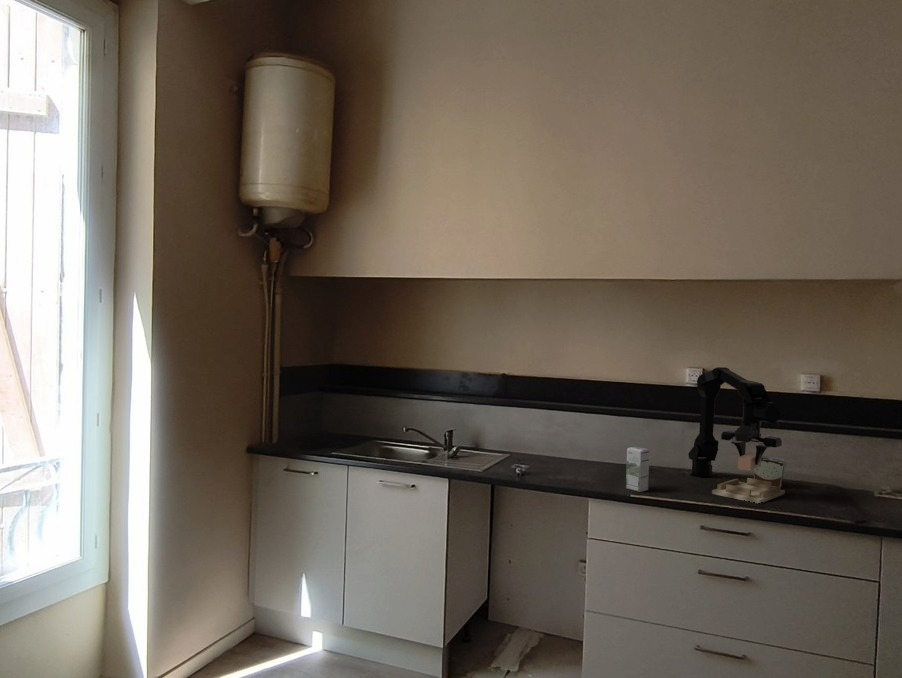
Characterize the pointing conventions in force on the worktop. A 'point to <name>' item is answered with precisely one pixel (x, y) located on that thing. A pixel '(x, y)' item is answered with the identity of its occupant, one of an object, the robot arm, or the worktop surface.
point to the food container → (770, 470)
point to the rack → (748, 490)
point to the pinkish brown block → (748, 461)
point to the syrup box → (637, 469)
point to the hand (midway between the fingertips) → (749, 463)
